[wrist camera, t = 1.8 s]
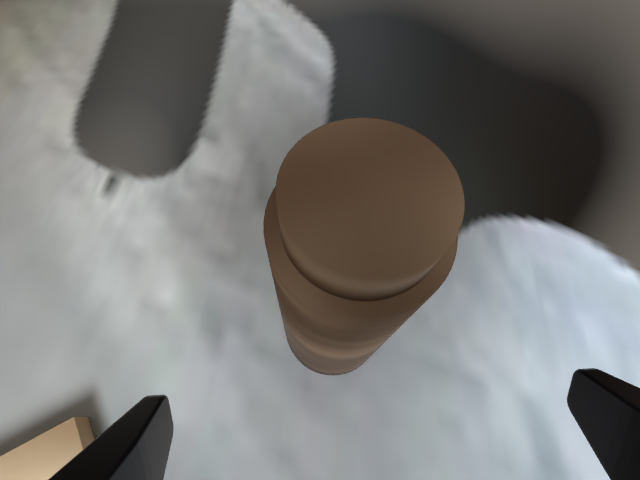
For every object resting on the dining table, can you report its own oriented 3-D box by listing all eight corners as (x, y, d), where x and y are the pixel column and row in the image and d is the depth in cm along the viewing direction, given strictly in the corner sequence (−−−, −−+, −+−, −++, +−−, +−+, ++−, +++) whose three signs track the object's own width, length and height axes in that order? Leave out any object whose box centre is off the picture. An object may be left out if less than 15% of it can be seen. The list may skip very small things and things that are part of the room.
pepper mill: (395, 344, 19) (531, 228, 8) (314, 394, 18) (330, 347, 7) (346, 268, 21) (397, 79, 9) (269, 309, 20) (219, 152, 8)
